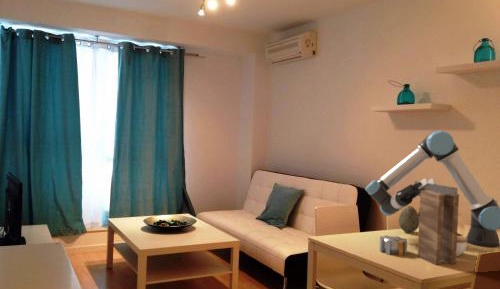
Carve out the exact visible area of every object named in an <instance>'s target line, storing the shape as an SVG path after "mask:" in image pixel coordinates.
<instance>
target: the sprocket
mask: <svg viewBox="0 0 500 289" xmlns="http://www.w3.org/2000/svg"><path fill="white" fill-rule="evenodd" d="M379 252H381V253H385V255H395V256H403V255H404V256H405V255H407V254H408V253H407V252H408V240H407V238H402V237H401V236H397V235H395V236H394V235H393V236H392V235H390V236H389V235H384V236H380V237H379Z"/></svg>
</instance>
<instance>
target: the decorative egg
mask: <svg viewBox="0 0 500 289" xmlns="http://www.w3.org/2000/svg"><path fill="white" fill-rule="evenodd" d="M418 213H419V212H418V211H417V210H416V209H415V208H414V207H413V205H407V206H405V207H404V208H402V210H401V212H400V213H399V217H398V224H399V227H400V229H401V230H402V231H403V232H405V233H409V234H410V233H413V232H416V230H417V229H419V216H418Z"/></svg>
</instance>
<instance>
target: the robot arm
mask: <svg viewBox="0 0 500 289" xmlns="http://www.w3.org/2000/svg"><path fill="white" fill-rule="evenodd" d="M416 147H417V148H415V149H414V150H413V151H412V152H410V153H409V154H408V155H406V156H405V157H404V158H403V159H402V160H401V161H399V162H398V163H397V164H395V166H393V167H392V168H391V169H389V170H388V171H386V173H384V174H383V175H382V176H380V178H378V179H377V180H375V179H374V180H372V181H370V183H369V184H367V186H366V187H365V189H364V190H365V191H366V192H367V194H368V195H370V196H371V197H372V198H373V200H375V201H376V202H377V203H378V205H379V210H380V211H381V214H382V215H384V216H390V217H391V216H392V215H394V214H396V213H398V212H399V211H402V210H403V209H404V208H405V207H407V206H410V204H411V203H412V202H413V200H414V199H415V198H416V197H418V196H419V197H420V191H421V190H424V189H421V188H422V187H424V186H425V185H427V184H428V183H433V184H436V182H435V177H431V178H430V179H427V177H423V178H422V179H421V180H419V181H420V182H418V183H417V184H415V183H414V184H409V185H407V186H406V187H404V188H402V189H401V190H399V191H397V193H395V194H393V195H391V194H390V193H389V192H388V191H389V190H390V189H391V188H392V187H394V186H395V185H396V184H397V183H399V182H401V180H402V179H404V178H405V177H406V176H407V175H409V174H410V173H411V172H412V171H414V170H416V168H418V167H419V166H420V165H422V164H423V163H424V162H425V161H426V160H428V159H429V160H431V159H432V158H434V159H435V161H436V162H438V163H441V164H442V165H443V167H444V168H445V169H446V171H447V172H448V173H449V176H450V177H451V178H452V180H453V181H454V182H455V184H456V186H458V187H457V188H459V190H460V191H461V192H462V194H463V196H464V198H466V200H467V201H468V203H469V205H470V206H469V210H470V211H471V212H470V226H469V229H468V231H467V235H466V236H465V238H467V244H470V245H474V246H478V247H485V248H498V247H500V239H499V234H498V232H497V231H498V230H500V206H499V204H498V200H496V199H495V198H494V197H492V196H491V195H488V194H487V193H486V192H485V190H484V189H483V187H482V186H481V185H480V183H479V182H478V180H477V179H476V178H475V176H474V174H473V173H472V171H471V170H470V169H469V167H468V166H467V164H466V163H465V162H464V160H463V159H462V157H461V156H460V155H459V152H460V149H459V147H458V145H457V144H456V143H455V140H454V138H453V136H452V135H451V134H450V133H449V132H448V131H444V130H435V131H431V132H430V133H429V134H428V135H426V136H425V138H424V139H422V141H421V142H420V143H418V144H417V146H416Z"/></svg>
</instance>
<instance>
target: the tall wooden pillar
mask: <svg viewBox="0 0 500 289" xmlns="http://www.w3.org/2000/svg"><path fill="white" fill-rule="evenodd" d="M459 199H460V194H459V193H457V195H448V194H443V193H438V192H433V191H428V190H421V191H420V196H419V209H420V214H419V226H418V237H417V238H418V241H417V242H418V243H417V258H419V259H422V260H424V261H426V262H428V263H431V264H433V265H436V266H441V265H442V262H444V263H445V262H446V263H447V264H449V265H456V264H457V256H456V249H457V236H458V227H459V226H458V224H459V223H458V222H459V201H460V200H459Z"/></svg>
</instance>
